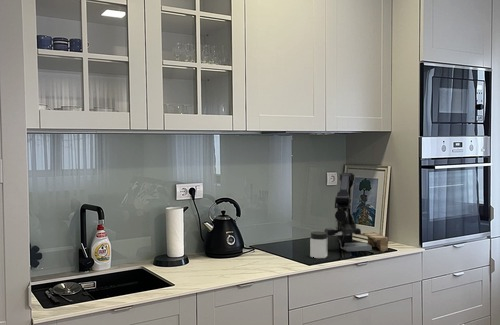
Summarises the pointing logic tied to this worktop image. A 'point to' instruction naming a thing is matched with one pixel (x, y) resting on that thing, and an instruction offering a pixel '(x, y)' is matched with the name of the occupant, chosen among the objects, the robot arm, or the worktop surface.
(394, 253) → the worktop surface
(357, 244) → the slate board
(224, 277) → the worktop surface
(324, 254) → the jar
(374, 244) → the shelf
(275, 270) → the worktop surface
